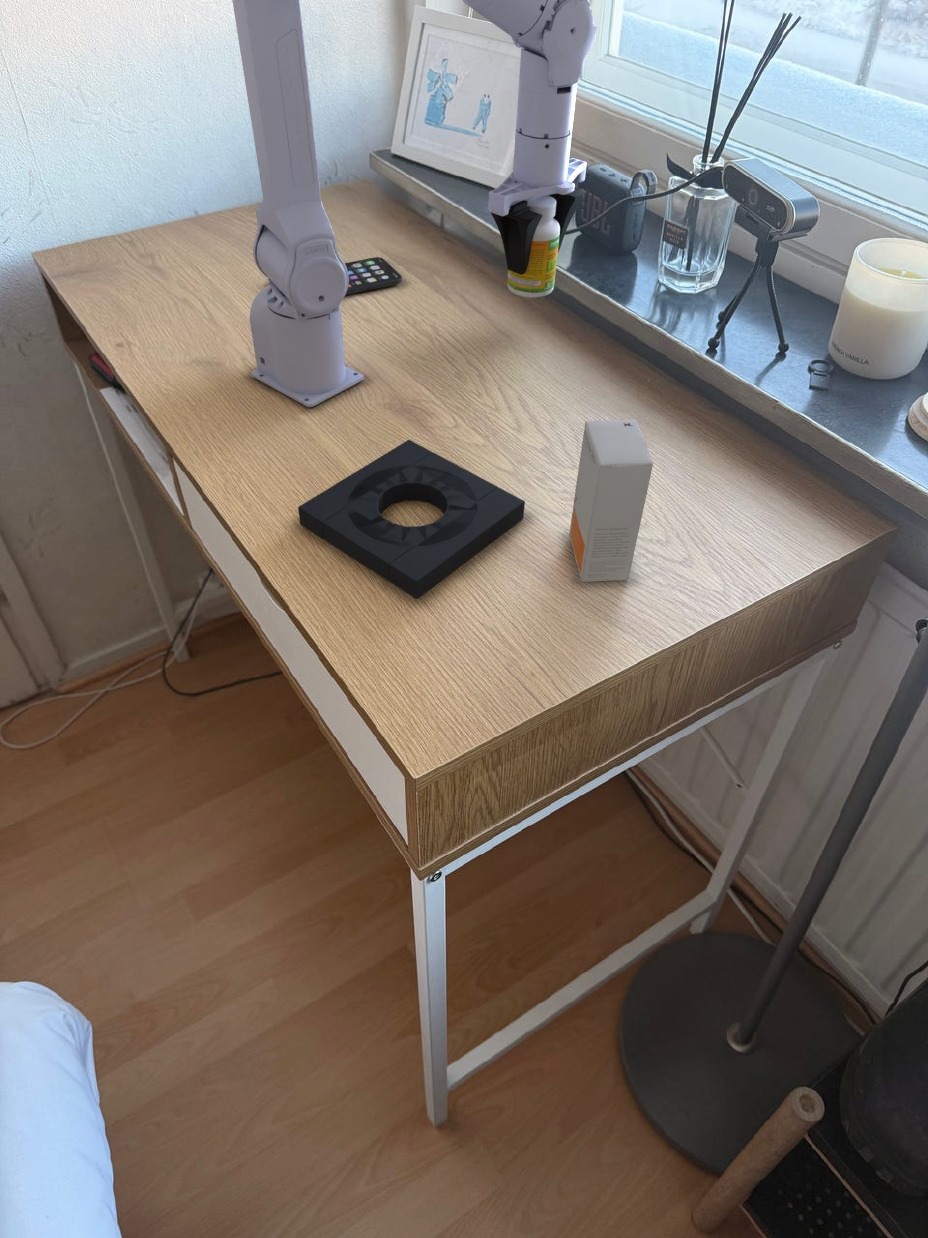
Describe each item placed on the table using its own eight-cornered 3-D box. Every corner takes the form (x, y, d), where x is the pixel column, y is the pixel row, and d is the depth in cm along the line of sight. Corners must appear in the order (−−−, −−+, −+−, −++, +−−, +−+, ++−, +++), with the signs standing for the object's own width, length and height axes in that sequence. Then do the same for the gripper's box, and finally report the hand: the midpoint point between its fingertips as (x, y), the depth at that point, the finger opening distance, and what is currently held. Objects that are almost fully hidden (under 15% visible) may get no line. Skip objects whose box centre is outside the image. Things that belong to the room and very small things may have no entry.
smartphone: (270, 277, 108) (380, 255, 113) (271, 282, 109) (380, 260, 114) (290, 301, 104) (404, 278, 109) (291, 307, 104) (404, 283, 109)
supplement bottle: (550, 301, 97) (559, 211, 91) (503, 295, 98) (509, 206, 91) (556, 280, 101) (566, 193, 94) (511, 275, 102) (517, 188, 95)
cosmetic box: (566, 536, 76) (584, 418, 67) (614, 535, 76) (637, 417, 68) (579, 584, 72) (599, 464, 63) (629, 582, 72) (656, 463, 63)
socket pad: (300, 524, 76) (297, 506, 75) (409, 456, 84) (409, 438, 82) (417, 599, 70) (416, 581, 68) (523, 518, 78) (525, 500, 76)
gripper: (531, 156, 82) (520, 295, 92) (616, 123, 90) (598, 254, 100) (474, 138, 85) (469, 274, 95) (561, 108, 93) (549, 236, 103)
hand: (532, 263), depth 98 cm, fingers closed on supplement bottle, 5 cm apart
